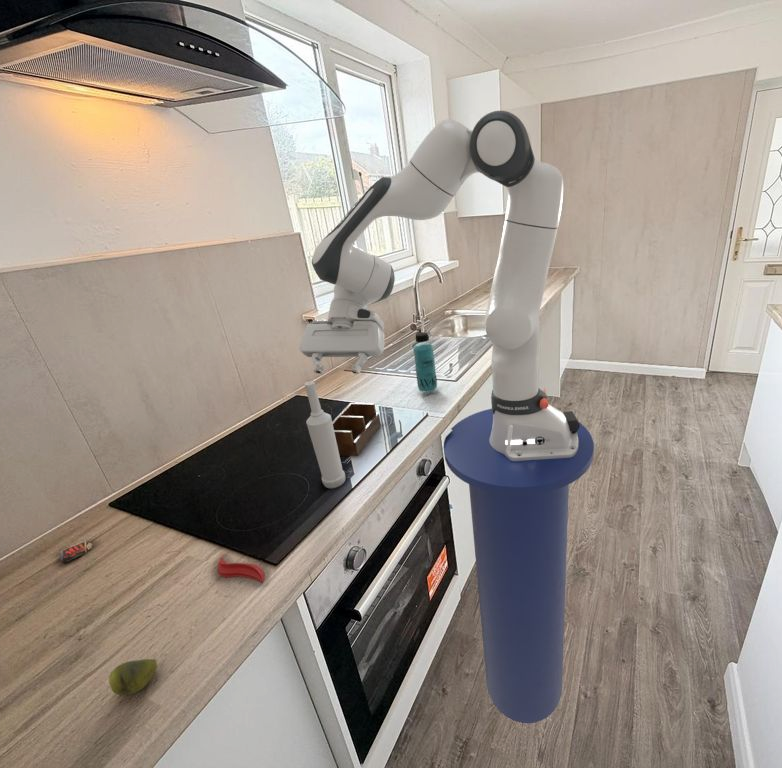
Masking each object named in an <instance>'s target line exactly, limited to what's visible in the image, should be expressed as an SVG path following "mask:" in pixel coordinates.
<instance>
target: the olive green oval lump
mask: <svg viewBox="0 0 782 768" xmlns="http://www.w3.org/2000/svg"><path fill="white" fill-rule="evenodd" d="M157 666H158V662H157V660H156V659H154V658H153V659H152V658H141V659H136V660H129V661H125V662H123V663H122V664H119V665H118V666H115V668H114V669H113V670H112V671H111V672H110V674H109V676H108V683H109V686H110V689H111V691H112V693H114V694H116V695H118V696H123V697H124V696H125V697H127V696H132V695H135V694H136V693H138V692H139V691H141V690H143V689H144V688H145V687H146V686H147V685H148V683H150V681H151V680H152V679H153V677H154V676H155V673H156V671H157V668H158V667H157Z"/></svg>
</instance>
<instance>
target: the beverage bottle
mask: <svg viewBox="0 0 782 768" xmlns="http://www.w3.org/2000/svg"><path fill="white" fill-rule="evenodd" d="M429 340H430V337H429V333H427V332H417V333H415V343H416V342H417V343H416V344H415V345H414V346H413V356H414V364H415V366H414V367H415V374H416V376H415V377H416V378H415V379H416V383H417V389H418V390H419V391H420V392H423V393H424V392H427V393H428V392H432V391H434V390H436V389H437V387H438V378H437V372H436V363H435V362H436V361H435V354H434V345H433V344H431V343H430V342H428V341H429Z"/></svg>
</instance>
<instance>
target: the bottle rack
mask: <svg viewBox="0 0 782 768" xmlns="http://www.w3.org/2000/svg"><path fill="white" fill-rule="evenodd" d="M376 409H377V408H376V405H375V403H374V402H372V403H371V402H349V403H348V404H347V406H345V407H344V408H343V409H342V411H341V412H340V413H339V414H338V415H337V416H336V417H335V418H334V419H333V420H332V423H333V428H334V433H335V437H336V442H337V446H338V451H339V456H345V457H346V456H347V457H348V456H349V457H359V456H360V454H361V453H362V452H363V451H364V450H365V447H366V446H367V445H368V444H369V442H370V441H371V440H372V438H373V437H374V435H375V434H376V432H377V431H378V430H379V429H380V428H381V426H382V423H381V417H380V412H377V410H376Z"/></svg>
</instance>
